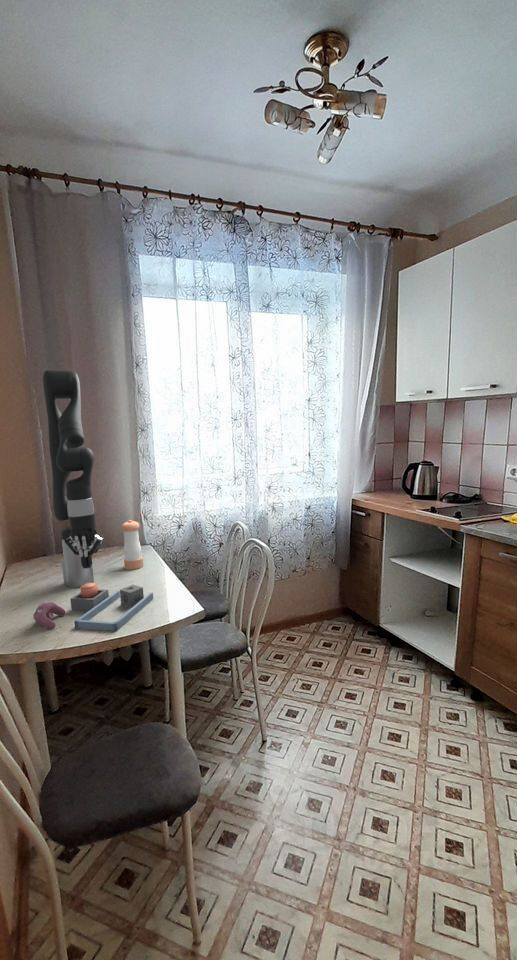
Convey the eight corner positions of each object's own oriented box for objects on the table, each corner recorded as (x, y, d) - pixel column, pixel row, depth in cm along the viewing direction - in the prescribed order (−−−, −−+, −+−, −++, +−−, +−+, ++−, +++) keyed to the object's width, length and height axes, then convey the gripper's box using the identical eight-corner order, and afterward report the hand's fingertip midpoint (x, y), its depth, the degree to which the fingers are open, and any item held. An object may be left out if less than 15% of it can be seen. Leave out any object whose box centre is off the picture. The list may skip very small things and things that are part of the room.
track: (75, 627, 121) (74, 621, 121) (117, 596, 142) (116, 590, 142) (116, 630, 118) (115, 623, 118) (153, 598, 139) (152, 592, 139)
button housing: (71, 610, 133) (70, 598, 132) (87, 600, 141) (86, 588, 140) (94, 612, 131) (93, 599, 130) (109, 601, 139) (108, 589, 138)
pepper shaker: (121, 567, 173) (117, 520, 170) (138, 562, 178) (134, 517, 175) (129, 571, 168) (125, 523, 165) (146, 566, 172) (142, 519, 170)
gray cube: (134, 599, 140) (132, 584, 139) (144, 602, 137) (142, 587, 136) (121, 604, 136) (119, 589, 135) (131, 608, 133) (129, 592, 132)
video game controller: (54, 620, 131) (41, 601, 130) (67, 612, 131) (54, 593, 130) (41, 635, 121) (27, 615, 120) (55, 627, 121) (41, 607, 120)
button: (77, 598, 133) (76, 587, 133) (87, 592, 138) (86, 581, 138) (92, 599, 132) (90, 588, 132) (101, 592, 137) (100, 582, 137)
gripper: (54, 515, 130) (60, 571, 132) (93, 515, 127) (99, 572, 129) (70, 510, 137) (76, 563, 139) (107, 510, 134) (113, 564, 136)
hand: (87, 567), depth 134 cm, fingers closed
